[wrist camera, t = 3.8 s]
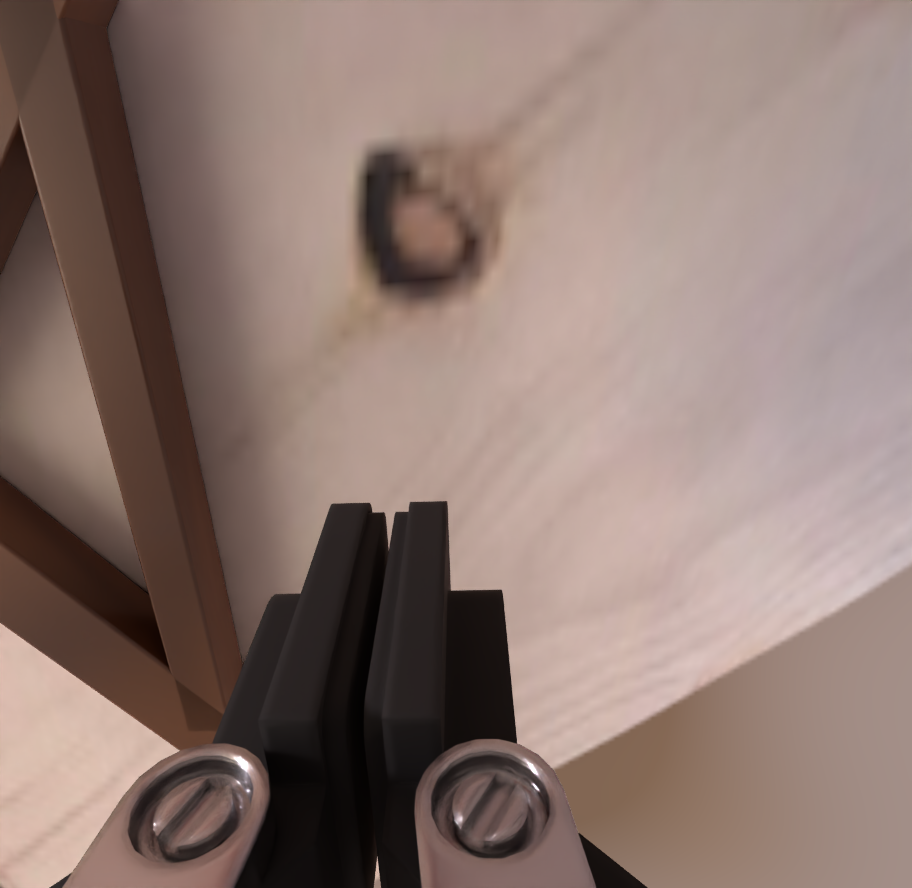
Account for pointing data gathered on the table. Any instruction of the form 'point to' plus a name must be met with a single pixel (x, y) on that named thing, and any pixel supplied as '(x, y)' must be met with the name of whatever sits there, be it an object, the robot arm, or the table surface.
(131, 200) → the hanger
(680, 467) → the table surface
